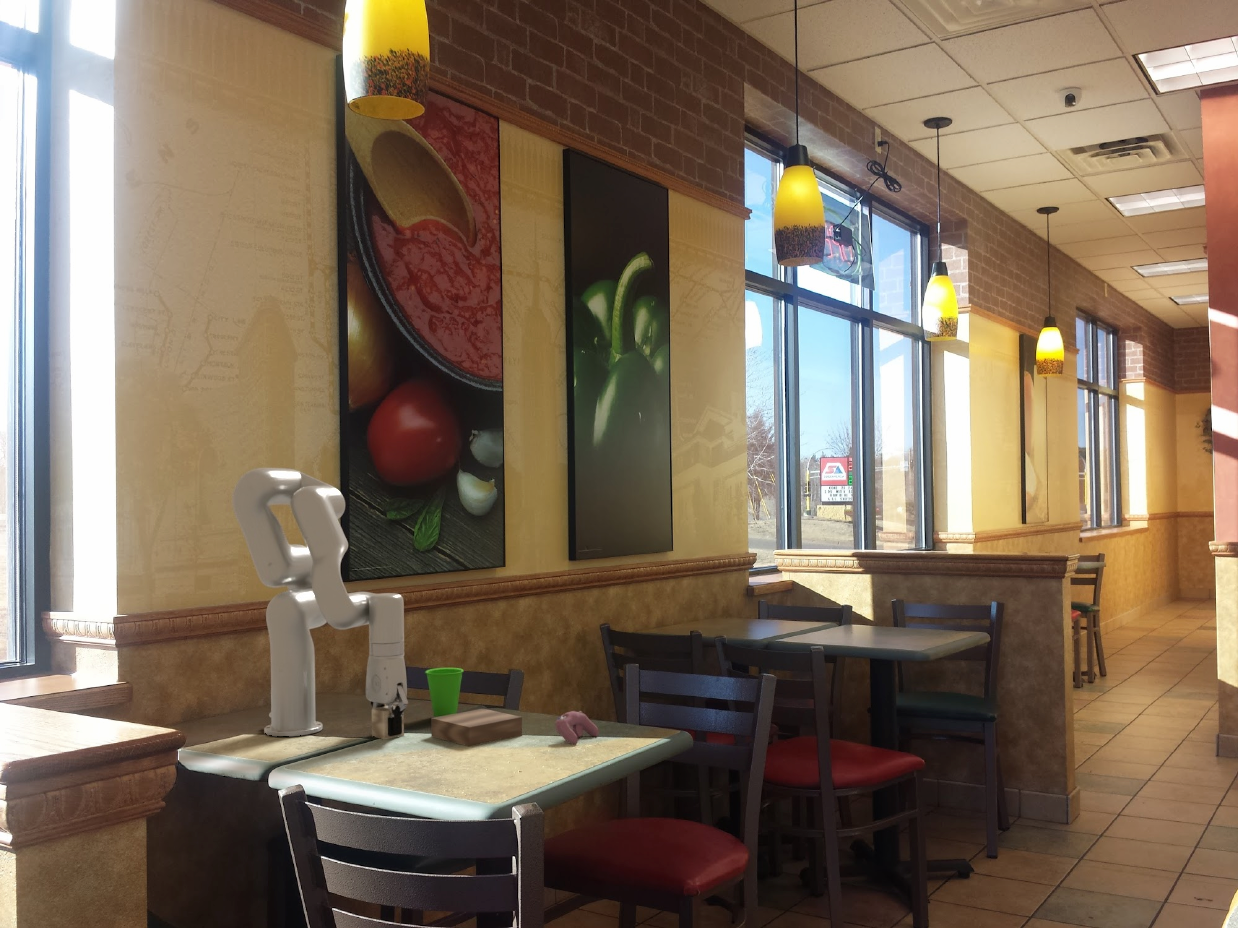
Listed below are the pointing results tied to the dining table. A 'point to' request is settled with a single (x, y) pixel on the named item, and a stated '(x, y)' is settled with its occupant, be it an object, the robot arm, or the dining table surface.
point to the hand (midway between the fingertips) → (387, 732)
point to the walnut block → (476, 727)
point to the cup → (444, 690)
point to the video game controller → (575, 726)
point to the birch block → (383, 723)
